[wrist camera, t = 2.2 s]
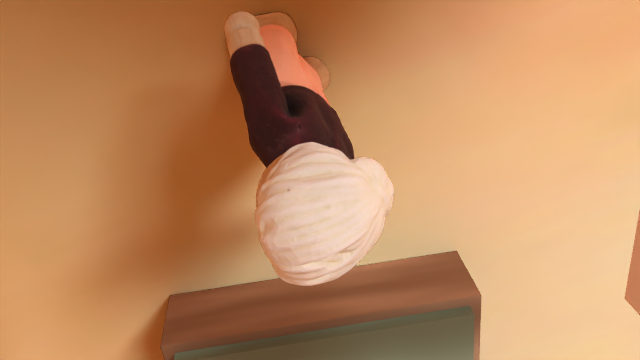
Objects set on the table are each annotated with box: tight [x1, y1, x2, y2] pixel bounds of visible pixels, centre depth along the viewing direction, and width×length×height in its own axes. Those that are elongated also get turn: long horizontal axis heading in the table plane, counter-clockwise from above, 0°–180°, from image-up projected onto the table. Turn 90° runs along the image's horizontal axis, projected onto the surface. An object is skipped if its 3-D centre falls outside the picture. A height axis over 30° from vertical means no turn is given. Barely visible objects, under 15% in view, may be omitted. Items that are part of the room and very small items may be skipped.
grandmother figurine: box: [224, 11, 394, 286], centre depth 18 cm, size 8×4×13 cm, turn 44°
